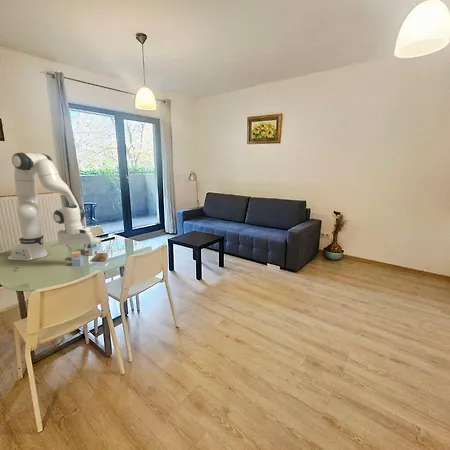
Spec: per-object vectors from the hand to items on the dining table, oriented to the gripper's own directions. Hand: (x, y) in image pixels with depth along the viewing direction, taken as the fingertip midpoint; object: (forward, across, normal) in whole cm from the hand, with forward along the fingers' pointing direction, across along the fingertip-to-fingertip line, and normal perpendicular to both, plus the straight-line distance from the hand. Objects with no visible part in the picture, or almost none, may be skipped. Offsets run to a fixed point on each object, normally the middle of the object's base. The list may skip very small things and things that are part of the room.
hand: (77, 250), depth 164 cm
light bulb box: (+11, +1, +22) cm, 24 cm away
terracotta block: (+10, -6, +10) cm, 15 cm away
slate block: (+10, -1, 0) cm, 10 cm away
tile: (+10, +14, -2) cm, 17 cm away
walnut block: (+11, +11, +8) cm, 17 cm away
